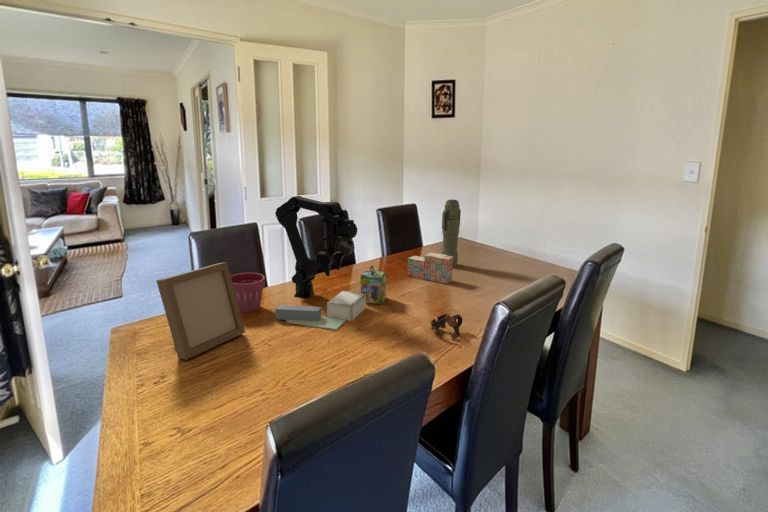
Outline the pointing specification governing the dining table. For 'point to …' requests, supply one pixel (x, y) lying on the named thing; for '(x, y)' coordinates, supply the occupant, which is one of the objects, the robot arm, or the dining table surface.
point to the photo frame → (201, 309)
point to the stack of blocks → (431, 267)
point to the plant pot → (248, 290)
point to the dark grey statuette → (451, 229)
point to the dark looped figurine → (451, 323)
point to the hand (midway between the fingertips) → (333, 272)
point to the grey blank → (298, 313)
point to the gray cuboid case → (346, 305)
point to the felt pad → (321, 323)
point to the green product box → (374, 286)
